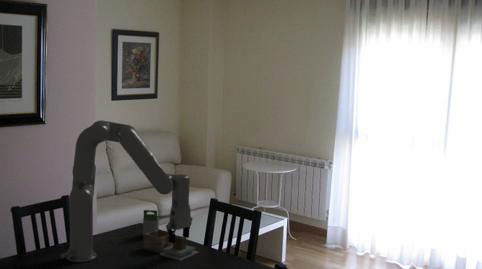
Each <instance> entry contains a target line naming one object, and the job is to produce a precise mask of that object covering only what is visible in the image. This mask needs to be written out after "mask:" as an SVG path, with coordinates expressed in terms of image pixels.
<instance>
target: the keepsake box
mask: <svg viewBox="0 0 482 269" xmlns="http://www.w3.org/2000/svg"><path fill="white" fill-rule="evenodd" d="M172 245H173V243H171V242H169V233H168V231H167V230H163V229H160V228H159V229H158V230H155V231H152V232H149V233H146V234H144V236H143V250H146V251H150V252H153V253H157V254H159V255H160V254H161V253H163V252H164V251H163V249H164V248H166V247H169V246H172Z"/></svg>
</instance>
